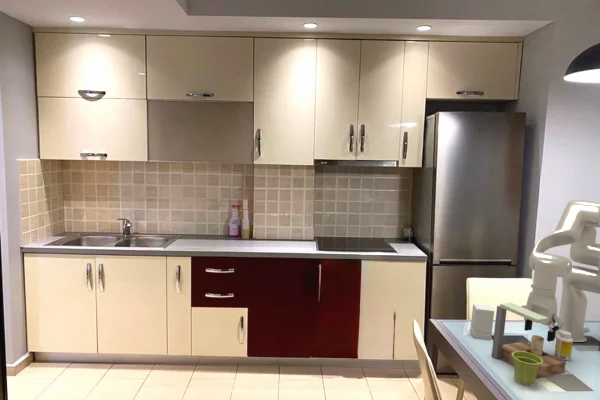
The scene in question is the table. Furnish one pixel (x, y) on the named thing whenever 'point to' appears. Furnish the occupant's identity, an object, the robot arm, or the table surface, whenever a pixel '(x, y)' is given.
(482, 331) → the supplement box
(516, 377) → the plant pot
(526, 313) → the awning
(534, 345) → the peg
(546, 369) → the socket block
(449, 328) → the table surface
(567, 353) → the supplement bottle
